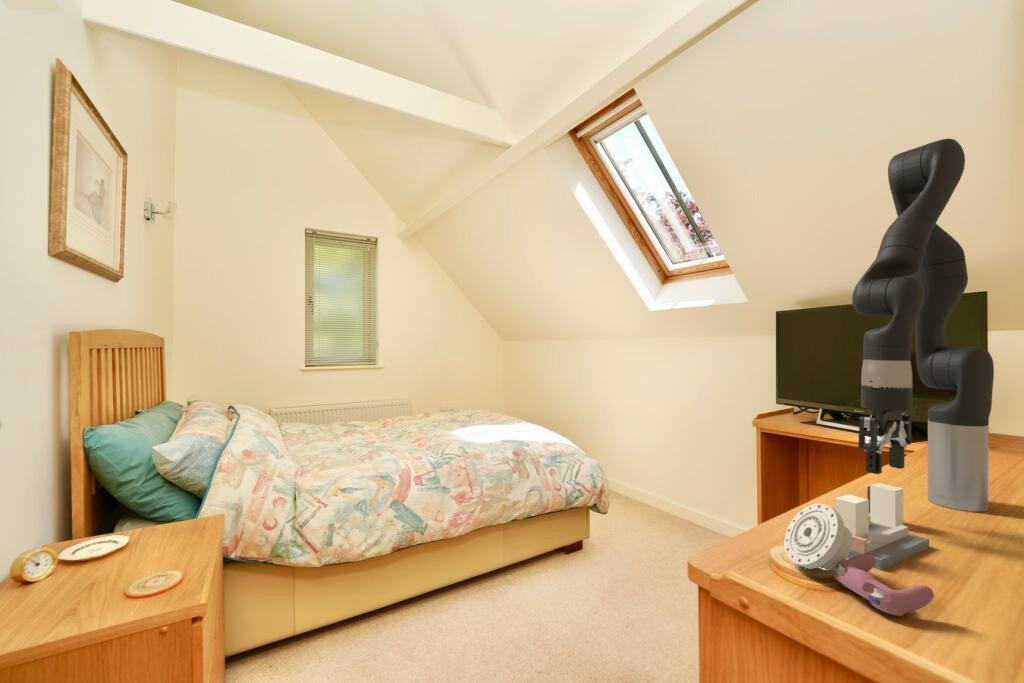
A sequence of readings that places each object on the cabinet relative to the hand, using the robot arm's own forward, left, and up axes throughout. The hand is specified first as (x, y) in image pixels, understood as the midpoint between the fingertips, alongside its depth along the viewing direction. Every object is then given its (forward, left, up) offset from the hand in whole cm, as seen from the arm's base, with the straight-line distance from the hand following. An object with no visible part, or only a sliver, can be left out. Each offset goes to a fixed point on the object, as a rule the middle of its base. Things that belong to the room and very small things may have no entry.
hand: (885, 470), depth 88 cm
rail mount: (+14, +3, -10) cm, 17 cm away
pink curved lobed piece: (+28, +14, -9) cm, 33 cm away
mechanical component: (+31, +1, -10) cm, 32 cm away
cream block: (0, 0, -10) cm, 10 cm away
